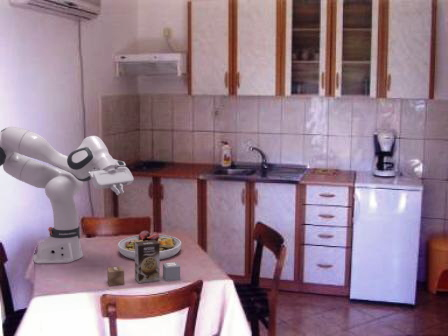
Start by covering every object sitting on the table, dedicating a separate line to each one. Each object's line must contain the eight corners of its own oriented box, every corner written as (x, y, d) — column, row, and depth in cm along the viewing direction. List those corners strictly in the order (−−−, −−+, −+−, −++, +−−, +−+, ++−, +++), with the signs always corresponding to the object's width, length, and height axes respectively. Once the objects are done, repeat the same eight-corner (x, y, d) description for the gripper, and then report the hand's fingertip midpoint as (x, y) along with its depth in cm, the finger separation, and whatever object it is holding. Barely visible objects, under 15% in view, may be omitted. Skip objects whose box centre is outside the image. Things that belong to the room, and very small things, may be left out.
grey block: (166, 281, 240) (165, 267, 239) (162, 276, 246) (162, 262, 245) (180, 280, 242) (180, 265, 241) (176, 275, 248) (176, 261, 247)
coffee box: (138, 283, 237) (138, 245, 235) (134, 278, 243) (134, 241, 240) (160, 280, 241) (159, 243, 238) (155, 276, 247) (155, 239, 244)
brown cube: (109, 286, 234) (109, 271, 233) (107, 281, 240) (107, 267, 239) (124, 285, 236) (124, 270, 235) (122, 280, 242) (121, 265, 241)
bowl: (189, 258, 271) (189, 242, 269) (125, 266, 260) (125, 249, 259) (171, 241, 298) (171, 226, 297) (112, 247, 287) (112, 232, 286)
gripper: (90, 165, 242) (105, 192, 237) (127, 161, 258) (141, 187, 254) (83, 174, 245) (98, 201, 241) (120, 170, 261) (134, 195, 257)
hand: (120, 194), depth 247 cm, fingers closed
